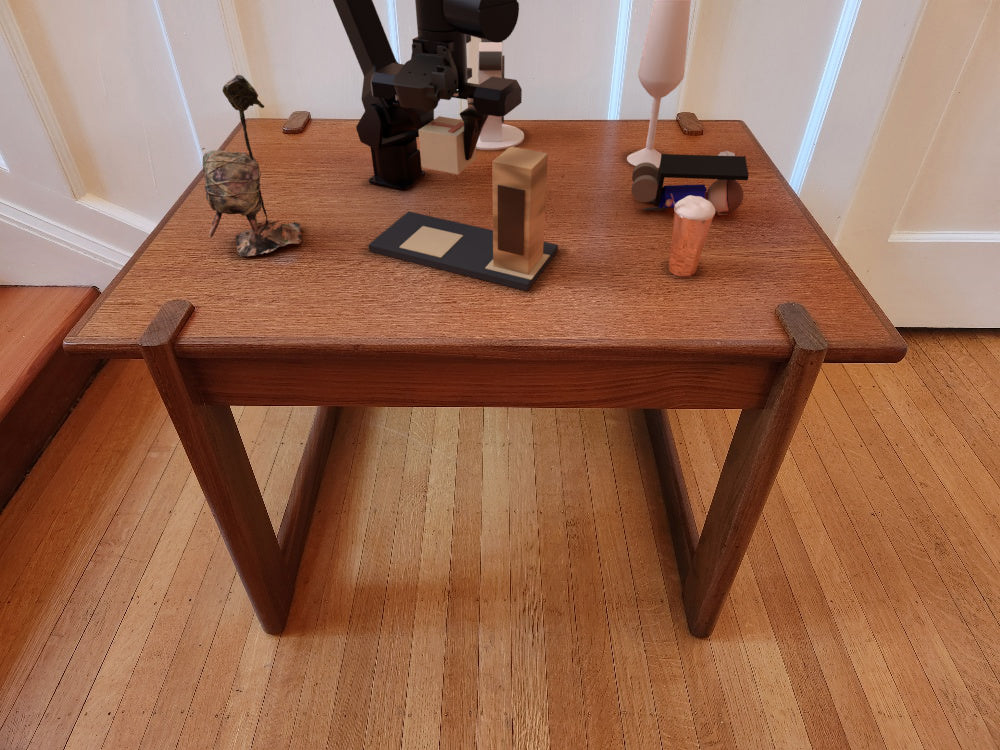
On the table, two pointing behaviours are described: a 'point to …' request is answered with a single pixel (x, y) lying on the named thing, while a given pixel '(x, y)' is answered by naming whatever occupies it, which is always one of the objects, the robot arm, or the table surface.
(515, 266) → the maple letter block
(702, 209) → the milkshake
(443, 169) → the cream letter cube
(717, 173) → the toy vehicle
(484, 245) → the word mat
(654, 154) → the champagne flute
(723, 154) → the game die
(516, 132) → the white post on disc
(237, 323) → the table surface
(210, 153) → the bird sculpture
